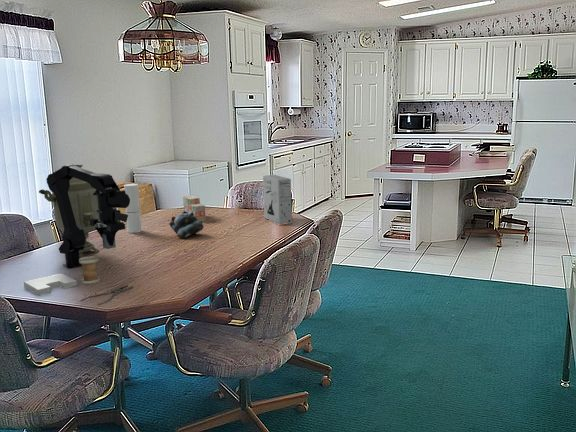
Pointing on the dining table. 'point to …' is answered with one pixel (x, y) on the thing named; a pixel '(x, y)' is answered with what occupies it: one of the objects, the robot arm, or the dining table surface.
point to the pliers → (111, 293)
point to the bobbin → (89, 270)
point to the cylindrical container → (133, 208)
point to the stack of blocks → (194, 207)
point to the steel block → (106, 243)
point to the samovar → (78, 207)
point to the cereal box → (277, 198)
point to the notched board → (49, 283)
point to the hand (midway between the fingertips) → (109, 244)
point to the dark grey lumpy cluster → (185, 225)
